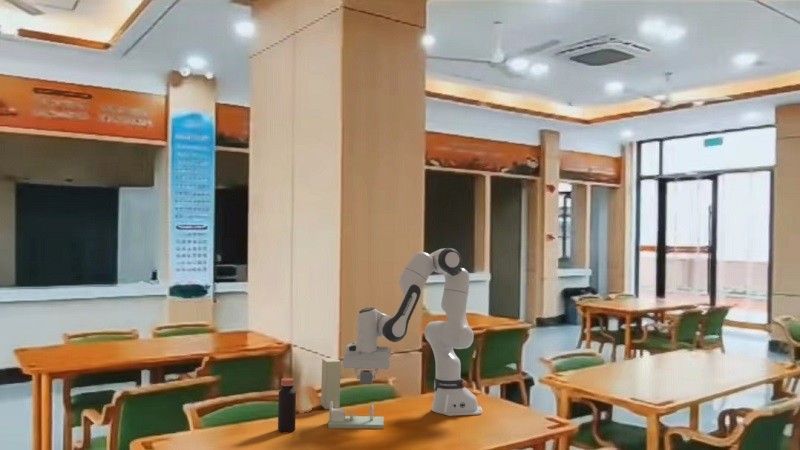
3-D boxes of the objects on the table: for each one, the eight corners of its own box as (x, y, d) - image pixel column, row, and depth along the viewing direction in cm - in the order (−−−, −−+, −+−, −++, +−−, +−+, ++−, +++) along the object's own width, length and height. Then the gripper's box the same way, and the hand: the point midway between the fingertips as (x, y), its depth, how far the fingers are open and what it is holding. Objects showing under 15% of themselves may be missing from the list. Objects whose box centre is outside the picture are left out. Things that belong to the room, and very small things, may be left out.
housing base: (383, 420, 277) (384, 402, 277) (383, 428, 265) (383, 409, 265) (331, 419, 277) (331, 401, 277) (328, 427, 265) (328, 409, 265)
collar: (372, 381, 285) (372, 370, 285) (372, 384, 280) (372, 372, 280) (360, 381, 285) (361, 369, 285) (360, 384, 280) (360, 372, 280)
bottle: (276, 428, 262) (277, 378, 263) (293, 427, 265) (294, 377, 265) (279, 433, 256) (280, 381, 256) (296, 432, 259) (297, 380, 259)
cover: (345, 418, 273) (345, 401, 273) (344, 421, 268) (344, 404, 268) (330, 418, 273) (330, 401, 273) (329, 421, 268) (329, 404, 268)
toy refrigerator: (341, 408, 295) (342, 360, 296) (325, 409, 293) (326, 361, 293) (336, 403, 303) (337, 357, 303) (320, 405, 300) (321, 358, 300)
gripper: (391, 345, 286) (390, 377, 285) (343, 344, 285) (343, 377, 285) (391, 347, 279) (390, 380, 279) (342, 347, 279) (342, 380, 279)
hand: (366, 378), depth 282 cm, fingers closed on collar, 5 cm apart
